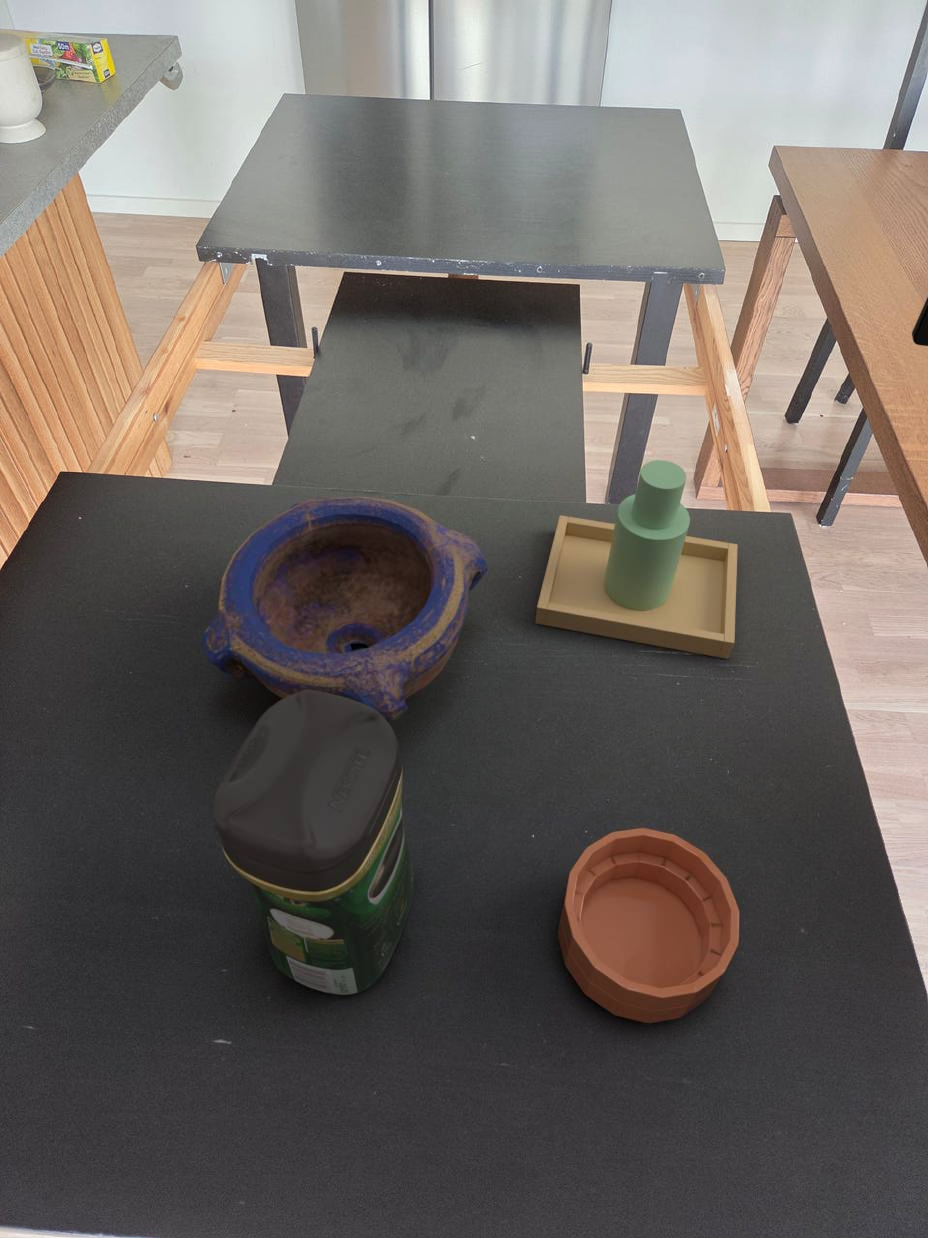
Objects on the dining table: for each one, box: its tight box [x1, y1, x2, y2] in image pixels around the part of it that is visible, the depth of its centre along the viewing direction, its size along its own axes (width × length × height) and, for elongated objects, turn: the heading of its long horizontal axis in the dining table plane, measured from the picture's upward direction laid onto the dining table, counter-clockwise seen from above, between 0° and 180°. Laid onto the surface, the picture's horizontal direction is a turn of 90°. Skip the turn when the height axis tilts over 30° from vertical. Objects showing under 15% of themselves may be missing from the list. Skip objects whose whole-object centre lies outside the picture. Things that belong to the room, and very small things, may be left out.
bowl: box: [201, 496, 488, 723], centre depth 63 cm, size 18×18×10 cm
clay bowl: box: [557, 827, 740, 1024], centre depth 50 cm, size 10×10×5 cm
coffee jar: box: [212, 689, 416, 996], centre depth 46 cm, size 10×8×19 cm
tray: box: [534, 515, 739, 660], centre depth 71 cm, size 16×12×2 cm
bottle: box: [604, 459, 691, 610], centre depth 67 cm, size 6×6×12 cm
